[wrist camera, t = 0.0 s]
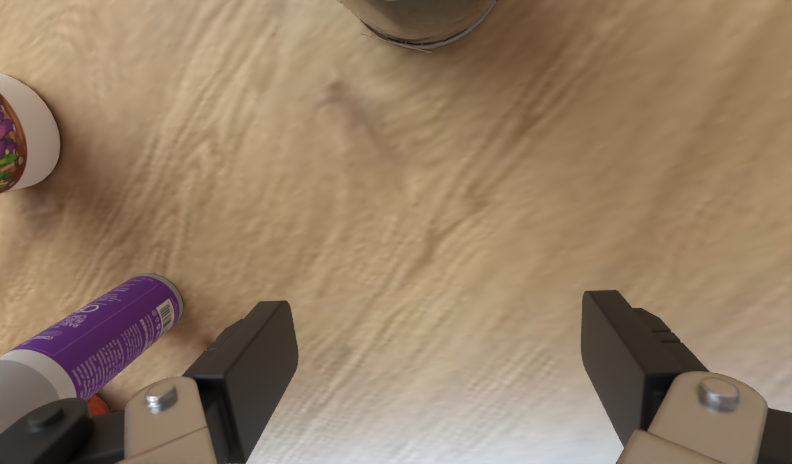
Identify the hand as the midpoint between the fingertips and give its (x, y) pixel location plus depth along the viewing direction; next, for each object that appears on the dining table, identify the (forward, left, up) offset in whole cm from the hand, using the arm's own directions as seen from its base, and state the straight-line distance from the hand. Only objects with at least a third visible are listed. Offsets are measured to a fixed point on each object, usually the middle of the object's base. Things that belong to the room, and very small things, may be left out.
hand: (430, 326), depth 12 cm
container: (+7, -22, -17) cm, 29 cm away
